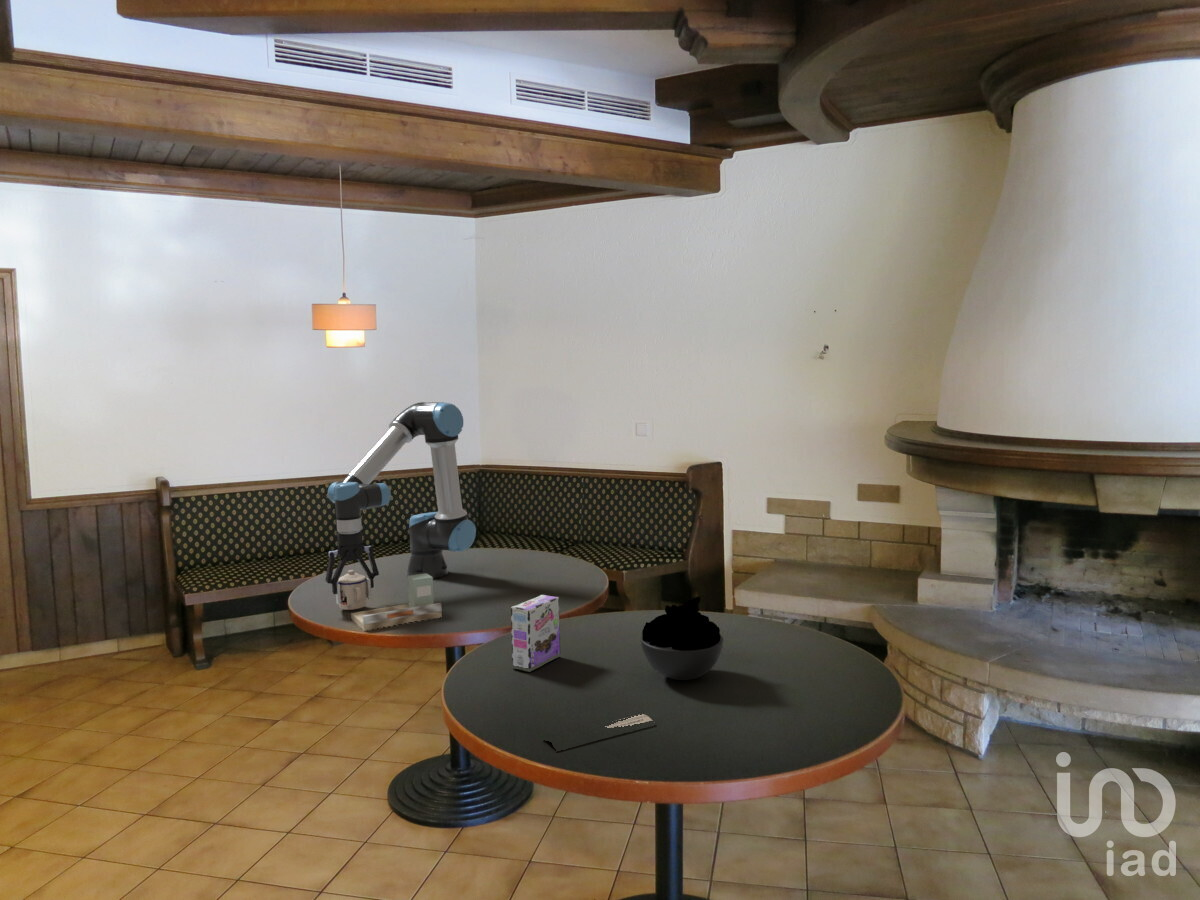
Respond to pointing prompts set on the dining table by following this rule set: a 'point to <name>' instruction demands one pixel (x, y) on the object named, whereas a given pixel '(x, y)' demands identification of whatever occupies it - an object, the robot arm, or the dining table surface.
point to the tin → (420, 590)
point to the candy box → (535, 631)
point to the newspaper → (631, 721)
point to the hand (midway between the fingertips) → (354, 600)
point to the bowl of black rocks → (682, 642)
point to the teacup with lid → (352, 591)
